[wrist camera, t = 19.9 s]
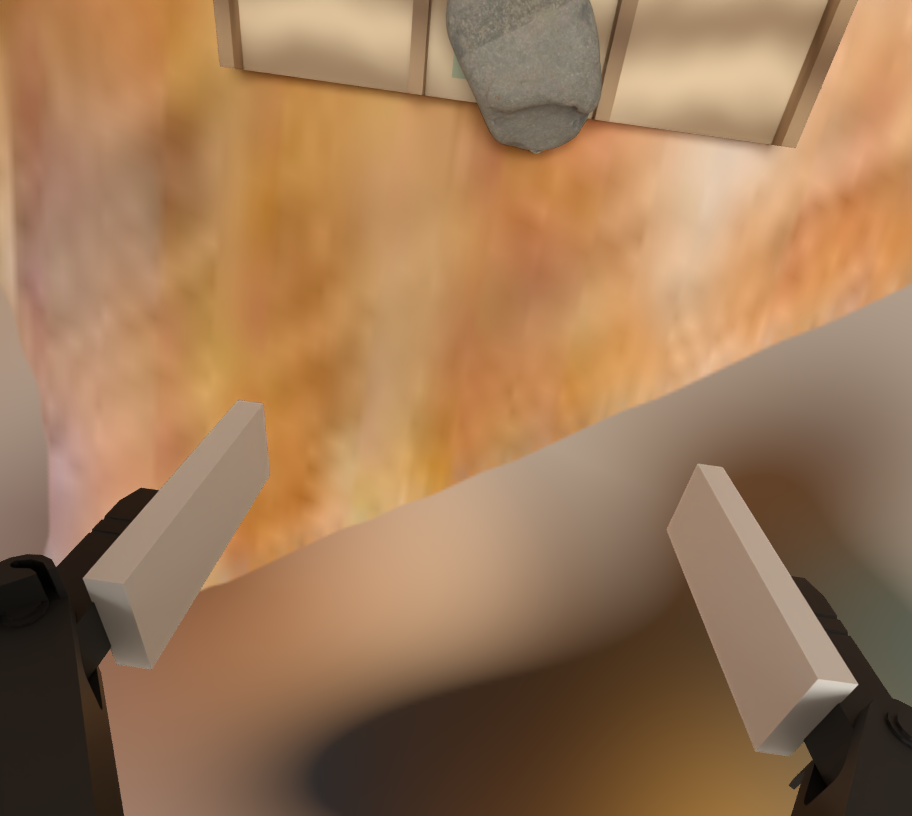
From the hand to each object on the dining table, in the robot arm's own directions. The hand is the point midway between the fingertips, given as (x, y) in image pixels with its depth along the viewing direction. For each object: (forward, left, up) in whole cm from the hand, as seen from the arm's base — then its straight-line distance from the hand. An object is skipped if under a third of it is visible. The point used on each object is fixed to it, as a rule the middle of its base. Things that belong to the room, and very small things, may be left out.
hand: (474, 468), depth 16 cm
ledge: (-15, 0, -32) cm, 35 cm away
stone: (-12, 0, -30) cm, 32 cm away
